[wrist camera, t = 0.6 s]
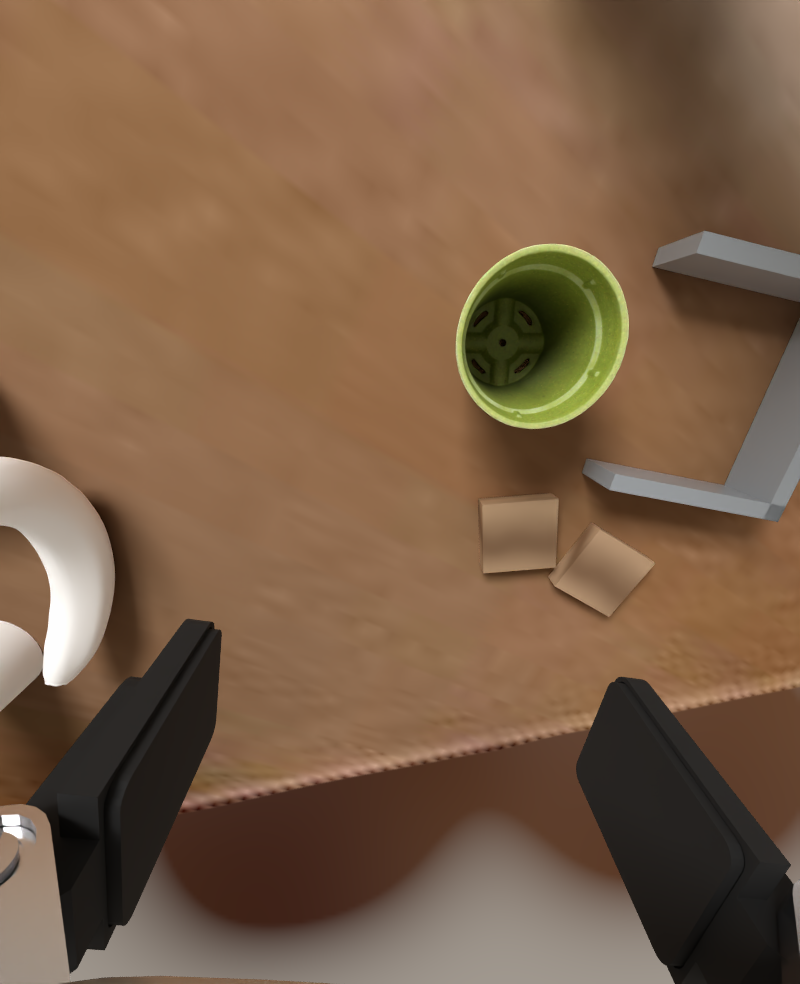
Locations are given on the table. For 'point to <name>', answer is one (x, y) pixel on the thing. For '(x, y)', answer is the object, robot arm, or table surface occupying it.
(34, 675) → the cylindrical container
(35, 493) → the white curved piece
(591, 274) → the plant pot
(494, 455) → the table surface
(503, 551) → the tile
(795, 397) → the u-shaped fence
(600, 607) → the tile
